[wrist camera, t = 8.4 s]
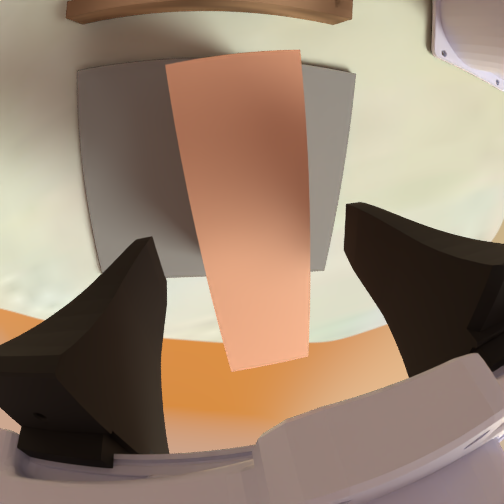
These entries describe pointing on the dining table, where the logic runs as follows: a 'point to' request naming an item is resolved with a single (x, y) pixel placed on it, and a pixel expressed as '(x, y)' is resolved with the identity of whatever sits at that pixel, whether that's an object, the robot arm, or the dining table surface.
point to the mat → (170, 165)
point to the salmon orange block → (249, 196)
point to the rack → (211, 8)
